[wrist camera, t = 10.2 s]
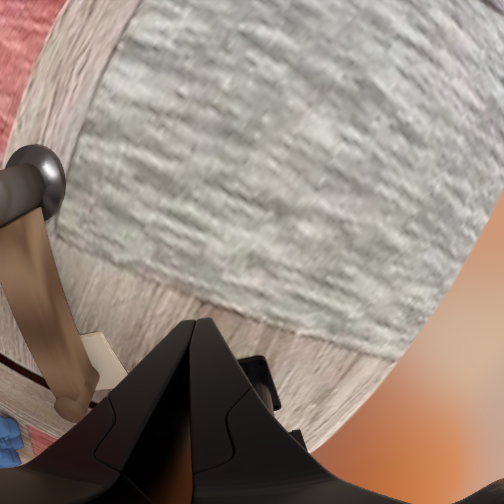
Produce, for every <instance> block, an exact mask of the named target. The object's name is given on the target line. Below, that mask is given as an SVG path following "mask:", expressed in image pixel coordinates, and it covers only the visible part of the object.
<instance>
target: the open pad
mask: <svg viewBox="0 0 504 504" xmlns="http://www.w3.org/2000/svg"><path fill="white" fill-rule="evenodd" d="M79 336H80V338H81V341H82V343H83V346H84V348H85V350H86V353H87V355H88V357H89V360H90V362H91V364H92V366H93V367H94V368H95V369H96V370H97V371H98V373H99V375H100V379H99V382H98V384H97V387H96V389H95V390H104V389H113V388H115V387H116V386H117V385H118V384H119V383H120V382H121V381H122V380H123V379H124V378H125V377H126V376H127V375H128V374H127V372H126V371H125V369H124V368H123V366H122V364H121V363H120V361H119V360H118V358H117V357H116V355H115V353H114V352H113V350H112V348H111V347H110V345H109V343H108V342H107V340H106V338H105V337H104V335H103V333H102V332H101V331H98V332H94V333H89V334H84V335H79Z"/></svg>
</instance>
